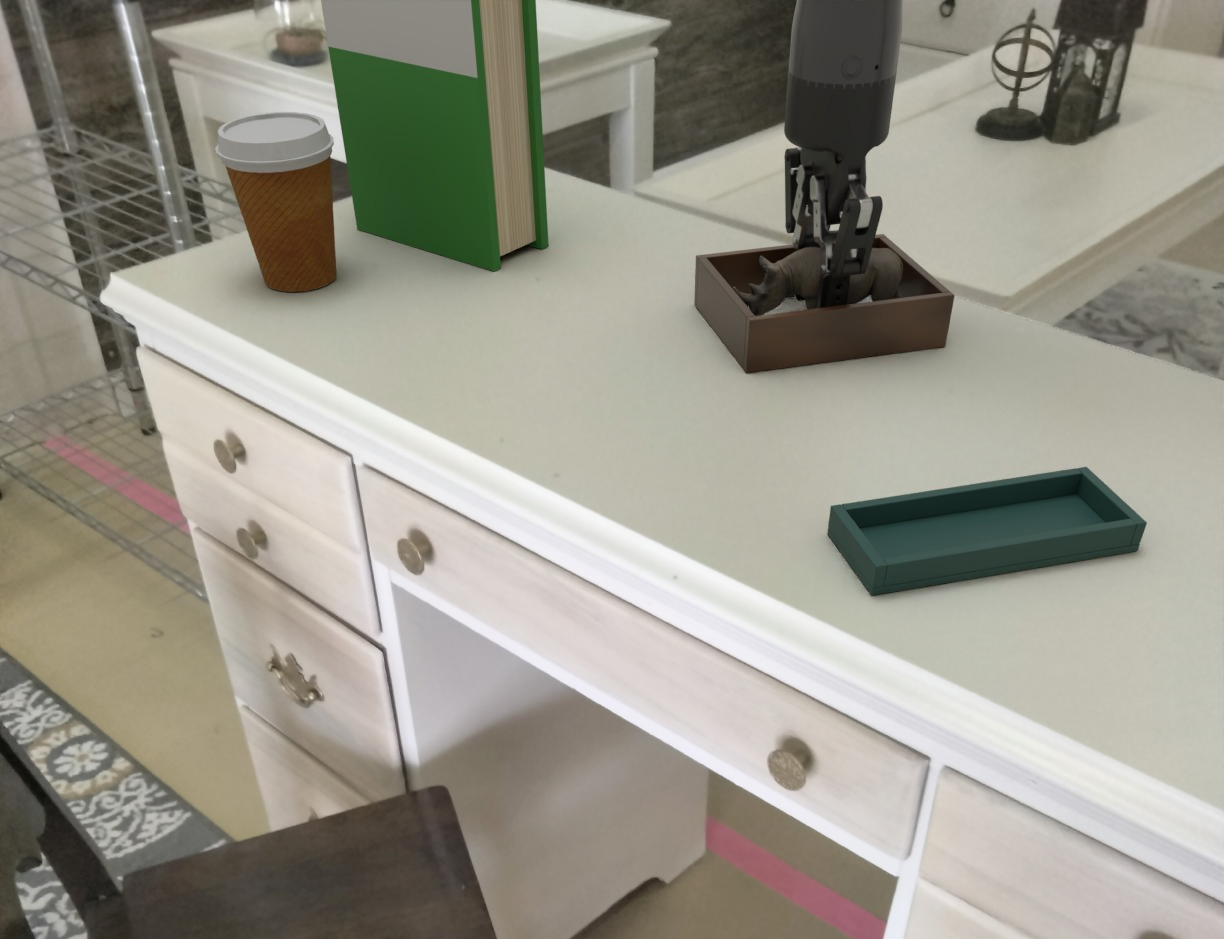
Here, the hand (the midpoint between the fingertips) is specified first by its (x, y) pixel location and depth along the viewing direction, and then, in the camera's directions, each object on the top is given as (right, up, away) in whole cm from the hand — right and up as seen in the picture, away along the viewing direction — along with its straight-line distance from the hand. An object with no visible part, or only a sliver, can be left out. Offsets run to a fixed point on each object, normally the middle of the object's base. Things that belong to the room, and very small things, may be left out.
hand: (818, 309), depth 96 cm
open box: (0, -1, +1) cm, 1 cm away
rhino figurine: (0, -1, +1) cm, 2 cm away
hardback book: (-31, +13, +16) cm, 38 cm away
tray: (+6, -24, -22) cm, 33 cm away
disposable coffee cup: (-44, +7, +10) cm, 45 cm away
